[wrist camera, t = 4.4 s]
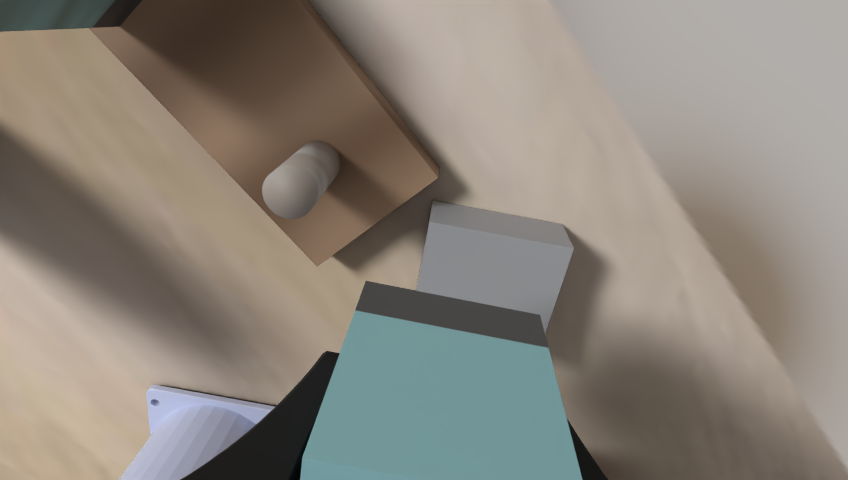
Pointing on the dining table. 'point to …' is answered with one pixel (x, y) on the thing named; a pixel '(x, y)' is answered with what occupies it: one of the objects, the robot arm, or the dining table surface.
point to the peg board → (262, 104)
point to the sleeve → (440, 395)
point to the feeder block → (494, 259)
